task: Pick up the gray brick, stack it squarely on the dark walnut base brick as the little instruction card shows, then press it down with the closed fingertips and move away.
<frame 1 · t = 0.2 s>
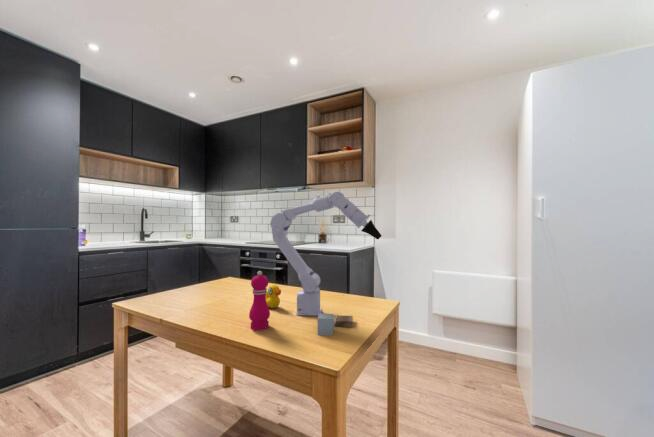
hand: (379, 237, 109), 31 cm above the table, tool tilted 50°, fingers open, 7 cm apart
instruction card: (328, 321, 103), on the table
pepper mill: (259, 327, 98), on the table
gray brick: (325, 332, 93), on the table
base brick: (344, 323, 101), on the table
duckling: (272, 308, 120), on the table
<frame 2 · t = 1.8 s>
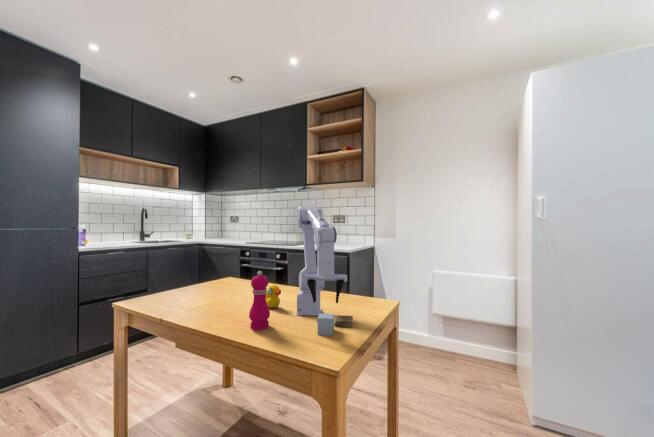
hand: (325, 302, 93), 10 cm above the table, tool pointing down, fingers open, 7 cm apart
nothing on the table moved.
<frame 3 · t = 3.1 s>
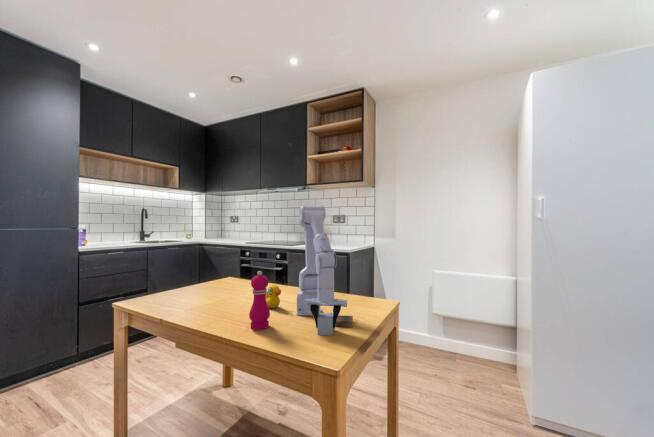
hand: (325, 327, 93), 2 cm above the table, tool pointing down, fingers closed on gray brick, 5 cm apart
gray brick: (325, 331, 93), on the table, touching gripper
everything else where it was.
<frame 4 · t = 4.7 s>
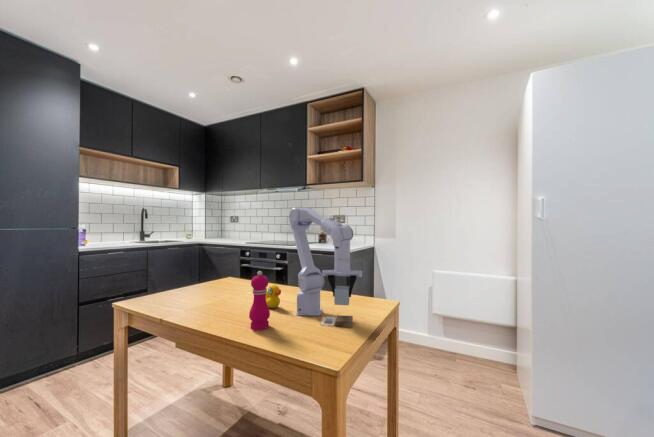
hand: (342, 296, 100), 10 cm above the table, tool pointing down, fingers closed on gray brick, 5 cm apart
gray brick: (342, 302, 99), point 8 cm above the table, touching gripper
everything else where it was.
when the fingers open (5 cm above the table, at t = 6.4 s): gray brick stays where it is, resting on base brick.
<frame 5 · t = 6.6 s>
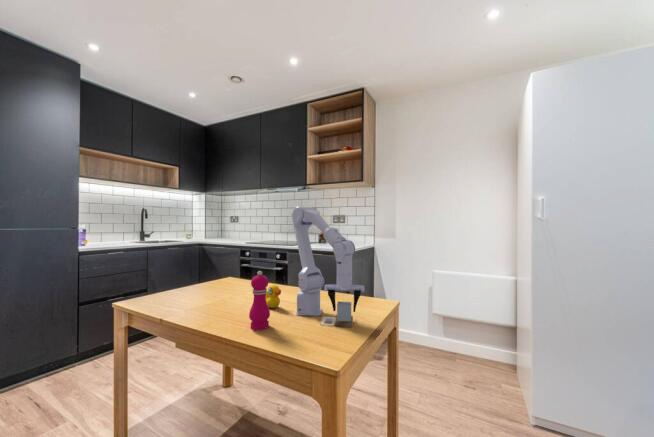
hand: (344, 310, 101), 5 cm above the table, tool pointing down, fingers open, 7 cm apart
gray brick: (344, 318, 100), point 2 cm above the table, touching base brick
everything else where it was.
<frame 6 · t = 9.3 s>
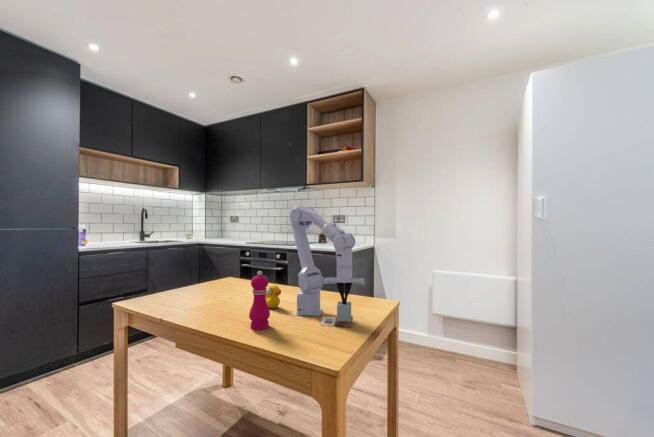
hand: (344, 303, 101), 7 cm above the table, tool pointing down, fingers closed, pressing on gray brick
gray brick: (344, 318, 100), point 2 cm above the table, touching base brick, gripper
everything else where it was.
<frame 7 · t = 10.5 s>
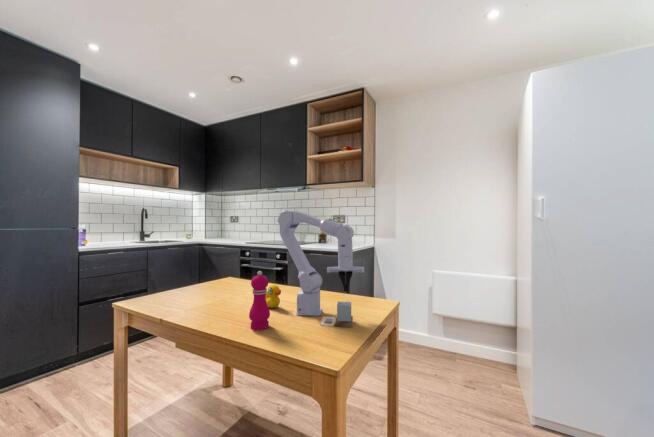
hand: (345, 290, 108), 10 cm above the table, tool pointing down, fingers closed
gray brick: (344, 318, 100), point 2 cm above the table, touching base brick
everything else where it was.
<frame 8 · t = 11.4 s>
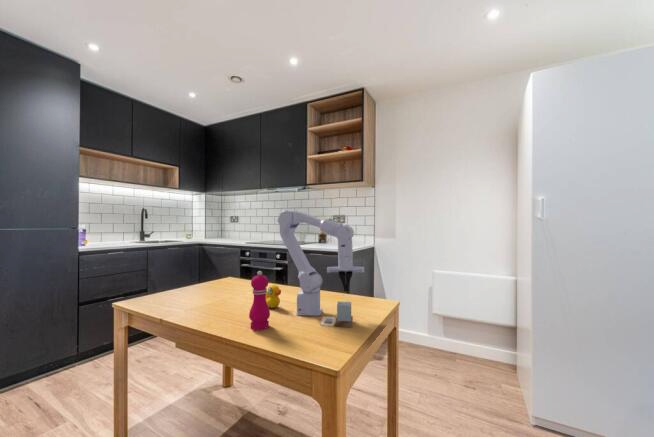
hand: (345, 290, 108), 10 cm above the table, tool pointing down, fingers closed
nothing on the table moved.
at the end: gray brick 0.3 cm off-centre on the base brick, point 2.0 cm above the base brick's base; gray brick tilted 0°; the gripper is holding nothing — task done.
